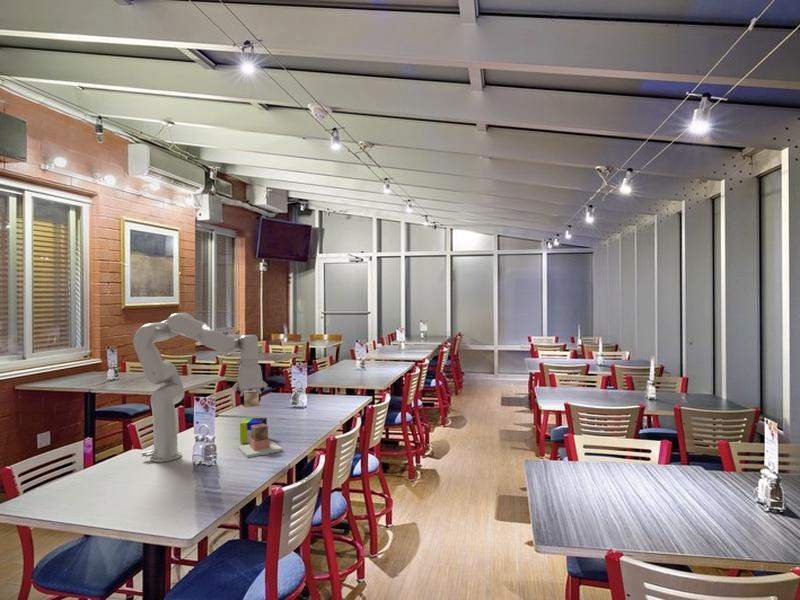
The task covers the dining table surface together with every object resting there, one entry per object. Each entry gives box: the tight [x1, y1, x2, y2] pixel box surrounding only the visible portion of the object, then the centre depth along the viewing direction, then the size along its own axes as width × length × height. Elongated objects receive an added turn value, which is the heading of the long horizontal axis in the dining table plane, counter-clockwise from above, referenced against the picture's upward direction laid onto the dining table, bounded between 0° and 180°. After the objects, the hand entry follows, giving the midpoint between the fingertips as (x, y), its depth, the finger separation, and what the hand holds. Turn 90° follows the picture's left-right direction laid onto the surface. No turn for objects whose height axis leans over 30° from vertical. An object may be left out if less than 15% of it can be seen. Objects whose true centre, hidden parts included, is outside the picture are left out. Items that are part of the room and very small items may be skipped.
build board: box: [237, 437, 283, 459], centre depth 234 cm, size 16×16×5 cm
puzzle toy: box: [239, 417, 268, 443], centre depth 249 cm, size 10×10×10 cm
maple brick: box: [241, 389, 260, 408], centre depth 224 cm, size 6×6×6 cm
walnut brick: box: [251, 424, 269, 441], centre depth 234 cm, size 6×6×6 cm
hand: (250, 403), depth 224 cm, fingers closed on maple brick, 6 cm apart
